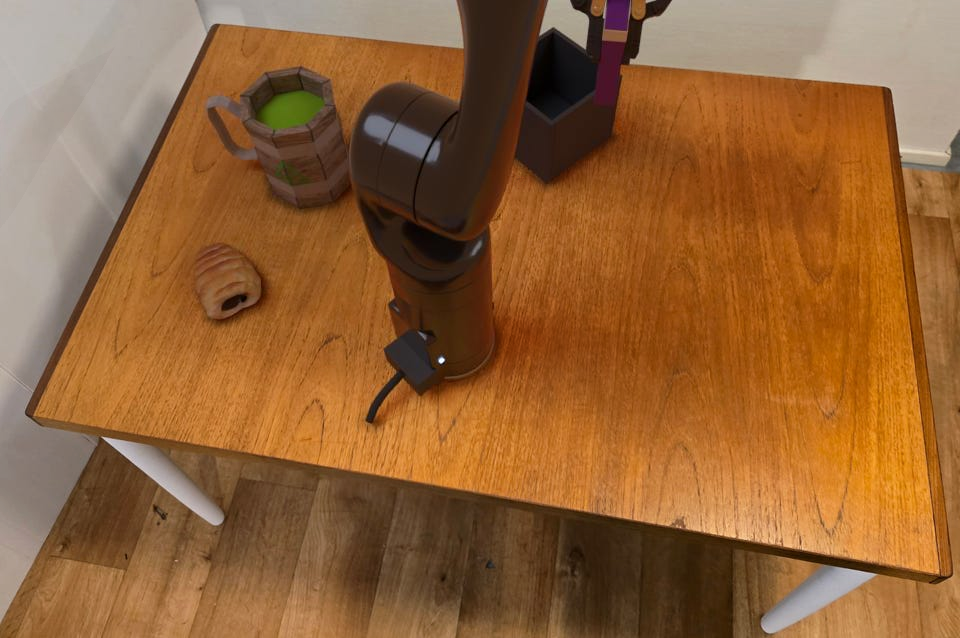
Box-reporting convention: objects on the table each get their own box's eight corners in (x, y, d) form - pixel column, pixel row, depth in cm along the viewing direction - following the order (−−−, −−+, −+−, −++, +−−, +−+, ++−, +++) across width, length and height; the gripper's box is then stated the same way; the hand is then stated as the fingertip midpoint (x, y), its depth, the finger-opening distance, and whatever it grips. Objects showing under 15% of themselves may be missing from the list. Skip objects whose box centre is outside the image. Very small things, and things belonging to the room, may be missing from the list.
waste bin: (547, 184, 89) (551, 125, 81) (484, 133, 93) (482, 72, 85) (611, 136, 93) (622, 75, 84) (549, 89, 97) (553, 26, 88)
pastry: (185, 265, 85) (172, 246, 82) (240, 240, 86) (230, 220, 83) (213, 327, 81) (201, 309, 77) (271, 300, 82) (262, 281, 79)
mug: (365, 145, 93) (348, 70, 82) (343, 214, 88) (321, 143, 77) (246, 131, 95) (214, 56, 84) (217, 198, 90) (179, 127, 79)
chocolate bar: (593, 104, 73) (603, 28, 65) (597, 67, 75) (607, -10, 67) (614, 106, 72) (627, 30, 65) (618, 69, 75) (631, -8, 67)
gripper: (555, -170, 61) (533, 54, 66) (728, -161, 59) (692, 67, 64) (558, -141, 68) (538, 59, 73) (713, -132, 66) (681, 71, 71)
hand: (610, 62), depth 68 cm, fingers closed on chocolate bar, 2 cm apart
